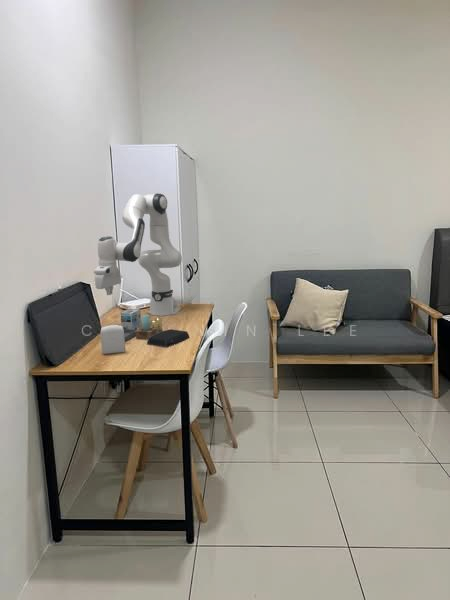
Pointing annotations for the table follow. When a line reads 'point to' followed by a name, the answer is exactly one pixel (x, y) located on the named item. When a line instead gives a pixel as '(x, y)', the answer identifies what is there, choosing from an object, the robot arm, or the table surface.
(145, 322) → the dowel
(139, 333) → the socket block
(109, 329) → the photo printer
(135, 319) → the light bulb box
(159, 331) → the dog
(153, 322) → the dog
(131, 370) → the table surface
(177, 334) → the external hard drive
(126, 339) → the tray
